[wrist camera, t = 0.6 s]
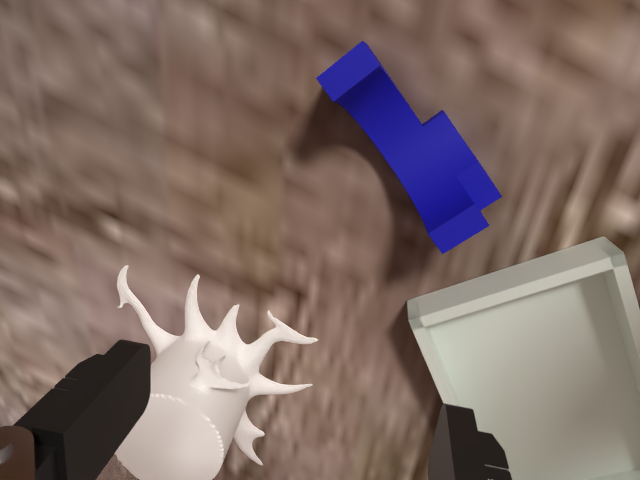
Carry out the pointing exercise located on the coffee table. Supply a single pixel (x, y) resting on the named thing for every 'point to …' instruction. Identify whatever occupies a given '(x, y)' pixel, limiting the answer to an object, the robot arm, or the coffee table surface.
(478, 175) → the blue curved bracket
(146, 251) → the coffee table surface
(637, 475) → the parts tray
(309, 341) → the tree stump
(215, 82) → the coffee table surface
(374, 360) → the coffee table surface
